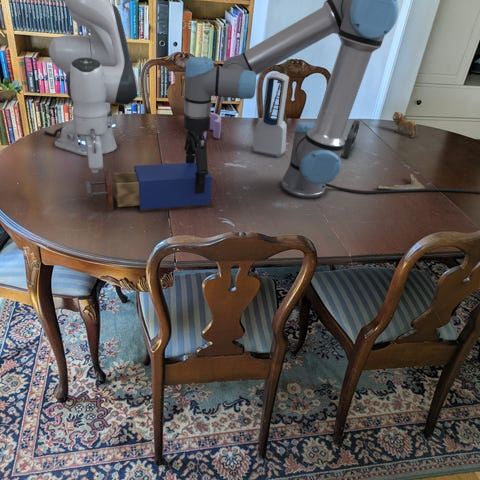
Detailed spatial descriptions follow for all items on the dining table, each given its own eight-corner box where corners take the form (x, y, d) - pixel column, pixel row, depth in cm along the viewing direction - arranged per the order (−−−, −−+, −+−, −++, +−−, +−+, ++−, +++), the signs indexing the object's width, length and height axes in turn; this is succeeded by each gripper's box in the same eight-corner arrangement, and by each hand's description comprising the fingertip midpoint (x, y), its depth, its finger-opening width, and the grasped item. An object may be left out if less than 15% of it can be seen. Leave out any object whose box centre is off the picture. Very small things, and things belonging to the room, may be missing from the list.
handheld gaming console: (349, 160, 187) (354, 136, 182) (342, 158, 188) (347, 134, 183) (355, 142, 206) (361, 119, 201) (349, 140, 207) (354, 118, 201)
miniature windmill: (283, 131, 209) (293, 61, 193) (265, 128, 210) (273, 58, 194) (285, 124, 217) (296, 57, 200) (268, 122, 218) (276, 54, 201)
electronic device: (285, 152, 188) (297, 76, 172) (280, 158, 182) (292, 80, 166) (256, 146, 191) (264, 70, 175) (250, 152, 185) (258, 74, 168)
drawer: (88, 212, 134) (86, 186, 129) (86, 196, 141) (84, 172, 137) (177, 205, 142) (177, 181, 137) (171, 190, 149) (171, 167, 145)
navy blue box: (140, 212, 138) (139, 181, 133) (135, 195, 147) (134, 165, 141) (210, 206, 145) (212, 176, 140) (201, 190, 154) (203, 162, 148)
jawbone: (429, 189, 172) (431, 184, 171) (394, 201, 161) (396, 196, 160) (410, 177, 177) (412, 172, 176) (375, 189, 167) (376, 184, 165)
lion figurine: (387, 130, 224) (392, 111, 219) (391, 127, 228) (397, 109, 223) (416, 139, 217) (422, 120, 212) (420, 136, 220) (426, 118, 215)
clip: (182, 123, 206) (183, 107, 202) (209, 122, 210) (210, 106, 207) (197, 140, 191) (197, 123, 187) (225, 138, 195) (226, 122, 191)
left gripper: (106, 137, 118) (110, 186, 125) (100, 111, 134) (103, 156, 141) (80, 138, 116) (85, 188, 123) (77, 111, 132) (81, 157, 139)
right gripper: (222, 129, 125) (216, 200, 137) (199, 102, 144) (196, 166, 156) (194, 130, 123) (191, 202, 134) (175, 102, 142) (174, 167, 153)
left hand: (95, 170), depth 133 cm, fingers closed
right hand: (194, 183), depth 145 cm, fingers open, 12 cm apart
